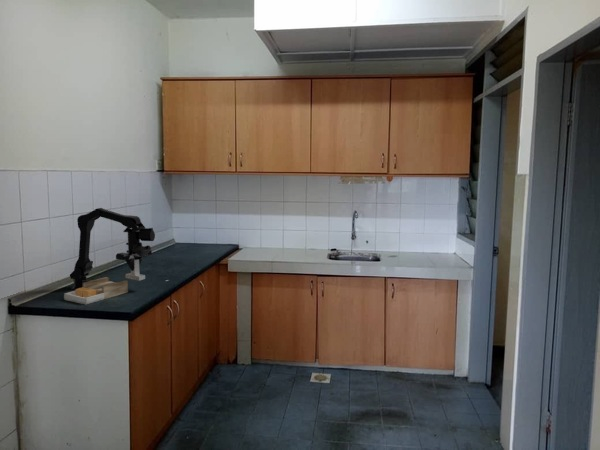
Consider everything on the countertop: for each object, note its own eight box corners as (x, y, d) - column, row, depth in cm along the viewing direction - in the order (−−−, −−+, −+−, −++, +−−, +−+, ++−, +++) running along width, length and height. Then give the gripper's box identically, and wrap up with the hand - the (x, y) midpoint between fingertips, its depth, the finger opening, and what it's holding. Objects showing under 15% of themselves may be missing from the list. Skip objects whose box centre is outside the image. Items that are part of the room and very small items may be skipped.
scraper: (125, 278, 225) (124, 259, 224) (131, 276, 229) (131, 258, 228) (139, 280, 221) (138, 261, 219) (145, 278, 224) (144, 260, 223)
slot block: (83, 294, 216) (82, 282, 216) (107, 288, 229) (106, 277, 228) (104, 299, 209) (103, 287, 208) (128, 292, 221) (127, 280, 220)
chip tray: (64, 299, 208) (63, 293, 207) (83, 294, 216) (82, 288, 216) (85, 304, 200) (85, 298, 200) (104, 299, 209) (104, 293, 209)
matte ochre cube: (83, 295, 213) (76, 297, 209) (82, 287, 212) (75, 289, 209) (88, 296, 211) (81, 298, 207) (88, 288, 211) (81, 290, 207)
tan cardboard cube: (90, 296, 210) (83, 298, 207) (90, 288, 210) (83, 290, 206) (96, 297, 209) (88, 299, 205) (95, 289, 208) (88, 291, 205)
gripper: (130, 244, 210) (131, 275, 212) (158, 239, 227) (159, 268, 229) (114, 242, 216) (115, 273, 218) (143, 237, 232) (144, 266, 234)
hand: (134, 270), depth 224 cm, fingers closed on scraper, 3 cm apart
